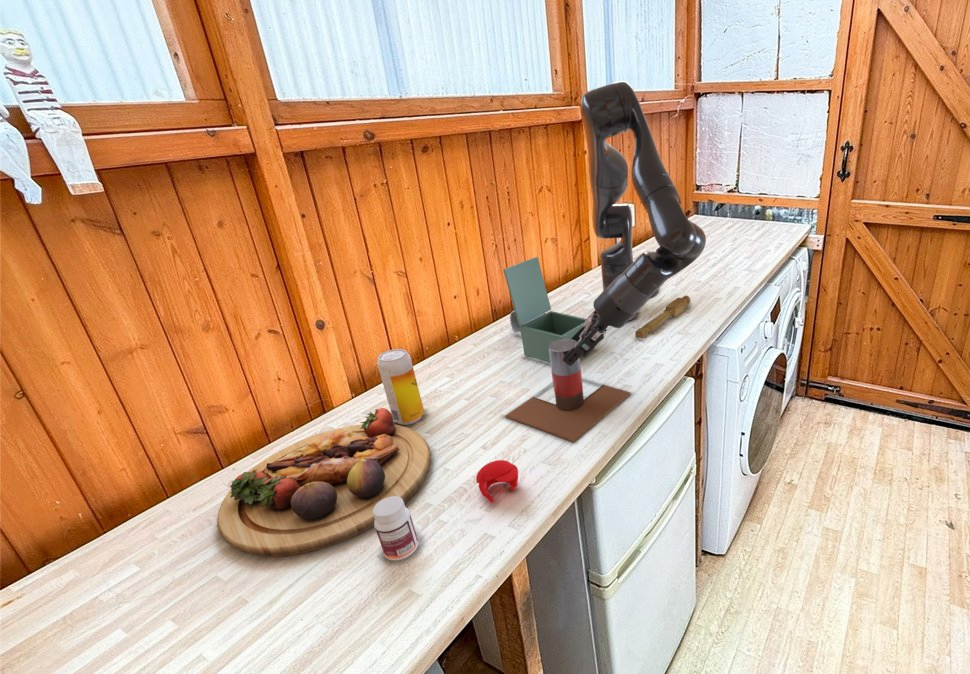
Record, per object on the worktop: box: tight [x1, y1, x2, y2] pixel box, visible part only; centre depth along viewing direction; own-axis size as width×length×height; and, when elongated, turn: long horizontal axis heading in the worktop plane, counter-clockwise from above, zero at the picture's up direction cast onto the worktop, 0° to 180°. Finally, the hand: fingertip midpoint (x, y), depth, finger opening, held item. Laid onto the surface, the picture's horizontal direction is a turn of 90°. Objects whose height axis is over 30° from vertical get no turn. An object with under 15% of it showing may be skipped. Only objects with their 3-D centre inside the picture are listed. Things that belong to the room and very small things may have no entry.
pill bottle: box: [373, 496, 419, 561], centre depth 75 cm, size 5×5×8 cm
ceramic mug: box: [509, 310, 546, 334], centre depth 147 cm, size 11×8×8 cm
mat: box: [505, 384, 631, 443], centre depth 111 cm, size 20×18×1 cm
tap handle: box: [634, 295, 691, 339], centre depth 151 cm, size 3×3×30 cm
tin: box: [549, 339, 585, 411], centre depth 108 cm, size 6×6×14 cm
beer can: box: [376, 348, 425, 426], centre depth 106 cm, size 6×6×15 cm
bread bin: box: [520, 310, 595, 364], centre depth 132 cm, size 14×12×9 cm
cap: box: [475, 459, 519, 504], centre depth 86 cm, size 8×6×6 cm
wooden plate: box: [216, 407, 432, 557], centre depth 89 cm, size 32×32×8 cm
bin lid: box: [502, 256, 552, 325], centre depth 132 cm, size 14×12×4 cm
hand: (570, 352), depth 106 cm, fingers open, 8 cm apart
